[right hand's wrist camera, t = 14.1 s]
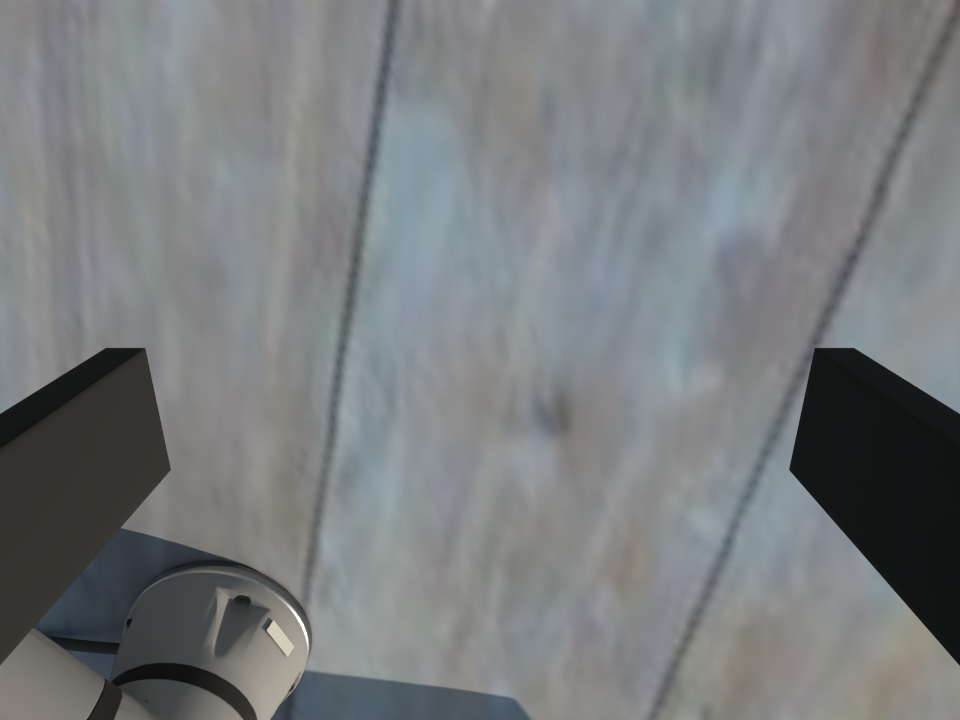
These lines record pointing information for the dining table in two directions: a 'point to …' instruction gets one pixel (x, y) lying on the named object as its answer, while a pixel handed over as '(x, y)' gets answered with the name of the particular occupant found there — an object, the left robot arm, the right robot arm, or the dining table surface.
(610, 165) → the dining table surface
